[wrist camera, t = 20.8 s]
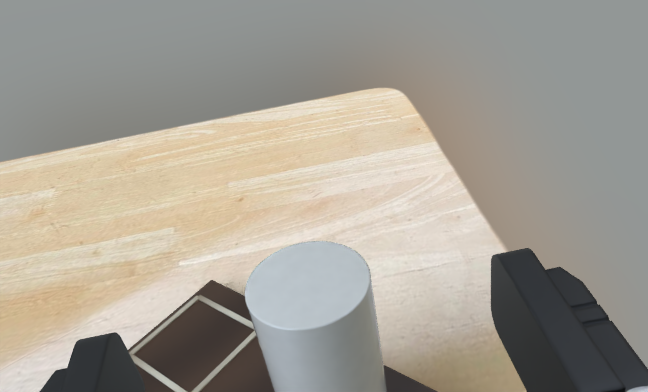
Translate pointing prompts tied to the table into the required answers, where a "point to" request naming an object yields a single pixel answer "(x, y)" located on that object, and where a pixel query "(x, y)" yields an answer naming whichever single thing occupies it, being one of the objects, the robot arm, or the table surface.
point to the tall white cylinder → (317, 319)
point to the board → (215, 349)
